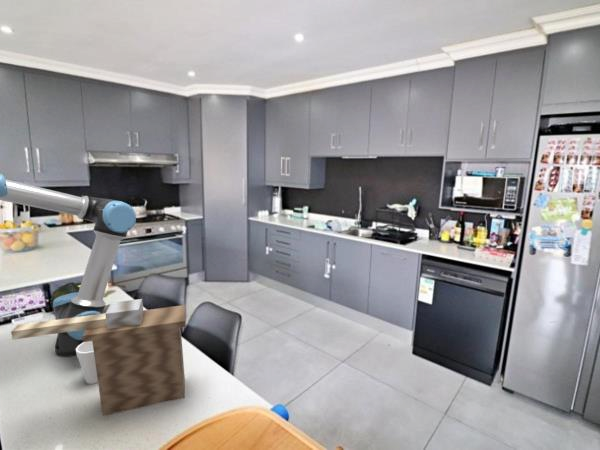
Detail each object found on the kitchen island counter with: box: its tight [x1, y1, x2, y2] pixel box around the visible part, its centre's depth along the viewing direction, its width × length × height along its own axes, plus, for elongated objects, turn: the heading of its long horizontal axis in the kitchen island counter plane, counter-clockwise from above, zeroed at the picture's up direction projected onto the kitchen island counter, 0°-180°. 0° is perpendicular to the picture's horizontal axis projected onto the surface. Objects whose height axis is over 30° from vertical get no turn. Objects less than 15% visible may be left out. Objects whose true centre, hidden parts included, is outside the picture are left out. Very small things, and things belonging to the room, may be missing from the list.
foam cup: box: [76, 341, 98, 385], centre depth 117 cm, size 10×9×13 cm
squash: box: [50, 281, 80, 311], centre depth 171 cm, size 14×15×15 cm
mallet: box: [10, 298, 144, 340], centre depth 98 cm, size 33×8×5 cm, turn 109°
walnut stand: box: [82, 304, 187, 416], centre depth 107 cm, size 28×12×28 cm, turn 109°
